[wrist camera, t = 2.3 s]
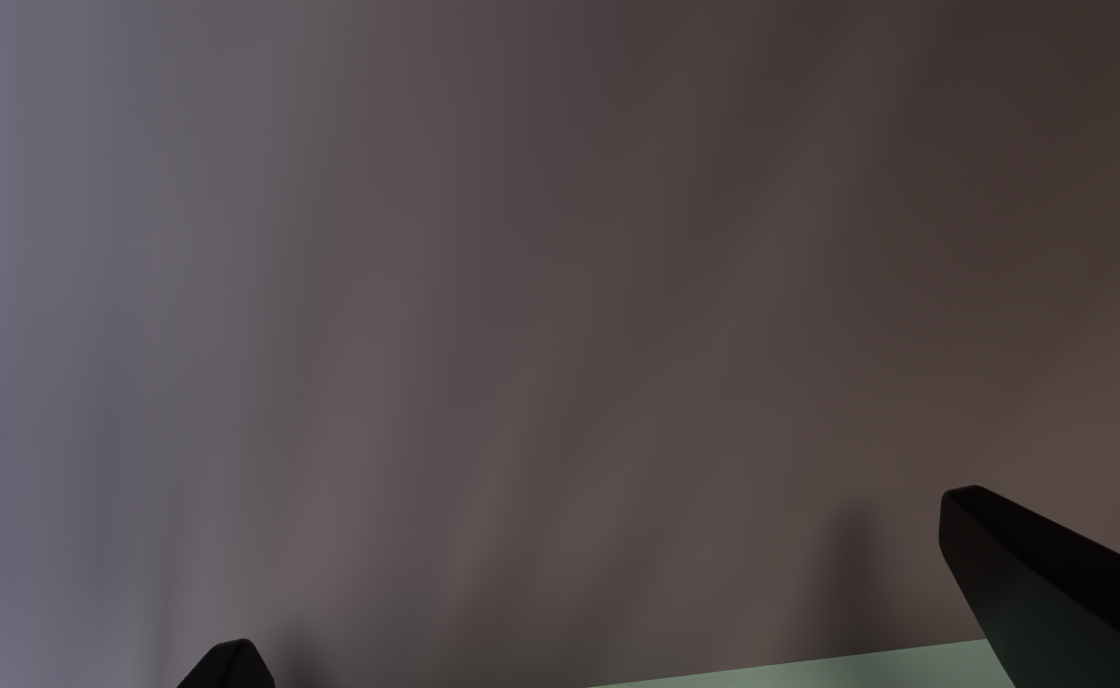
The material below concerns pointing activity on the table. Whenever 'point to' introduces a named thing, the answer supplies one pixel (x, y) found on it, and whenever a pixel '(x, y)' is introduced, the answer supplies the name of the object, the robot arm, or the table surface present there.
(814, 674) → the bar
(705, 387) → the table surface
